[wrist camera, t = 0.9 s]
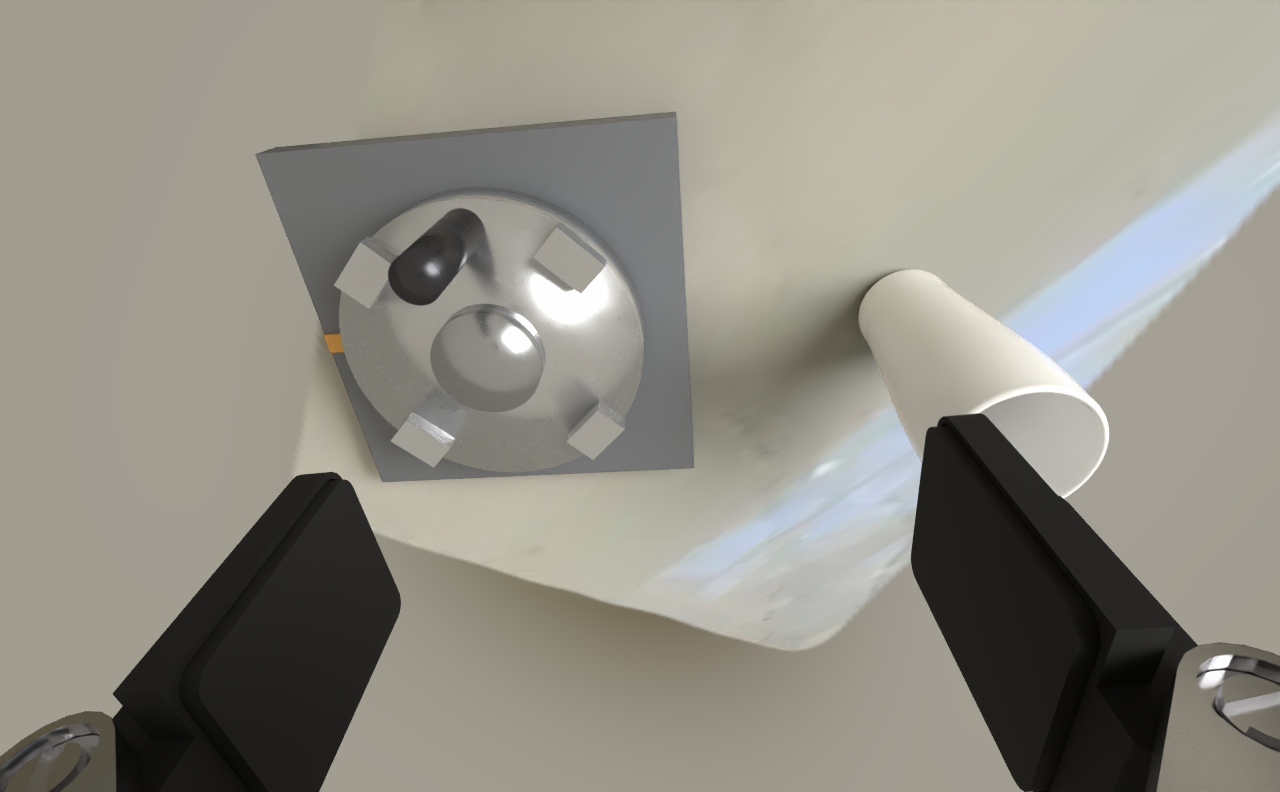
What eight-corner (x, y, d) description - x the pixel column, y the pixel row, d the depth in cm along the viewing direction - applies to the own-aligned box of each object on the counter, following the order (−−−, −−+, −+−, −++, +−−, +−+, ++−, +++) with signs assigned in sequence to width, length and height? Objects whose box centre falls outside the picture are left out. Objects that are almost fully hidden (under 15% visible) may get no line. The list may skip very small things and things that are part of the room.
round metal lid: (315, 200, 33) (202, 259, 25) (630, 174, 32) (618, 228, 24) (405, 454, 42) (342, 559, 34) (654, 442, 41) (651, 548, 33)
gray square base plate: (276, 147, 34) (253, 154, 32) (675, 111, 32) (676, 117, 30) (392, 464, 45) (381, 483, 44) (692, 450, 44) (694, 469, 42)
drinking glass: (969, 251, 36) (1140, 381, 23) (946, 355, 39) (1082, 519, 26) (850, 256, 36) (951, 387, 23) (837, 358, 40) (919, 522, 27)
